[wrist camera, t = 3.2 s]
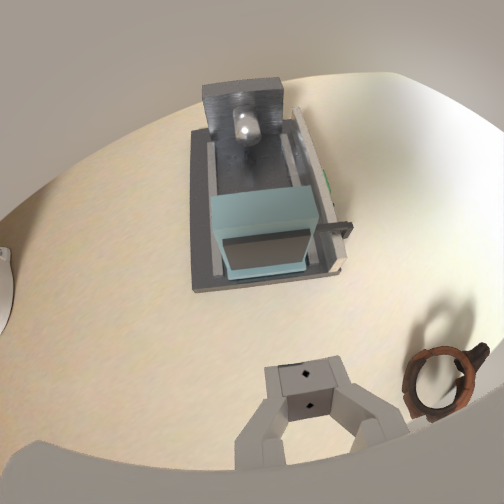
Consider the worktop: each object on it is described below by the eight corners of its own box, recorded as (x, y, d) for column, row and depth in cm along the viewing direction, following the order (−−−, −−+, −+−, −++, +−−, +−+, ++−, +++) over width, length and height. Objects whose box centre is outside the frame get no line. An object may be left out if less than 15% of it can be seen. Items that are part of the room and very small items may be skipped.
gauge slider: (347, 264, 29) (377, 223, 20) (228, 280, 29) (213, 242, 20) (336, 223, 31) (359, 172, 22) (225, 236, 31) (210, 186, 22)
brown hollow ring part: (423, 439, 22) (430, 443, 16) (386, 385, 29) (382, 375, 23) (492, 373, 21) (514, 357, 16) (453, 325, 28) (464, 300, 23)
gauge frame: (338, 275, 30) (365, 239, 21) (195, 293, 30) (167, 263, 21) (296, 126, 39) (301, 76, 31) (193, 137, 39) (179, 89, 30)
